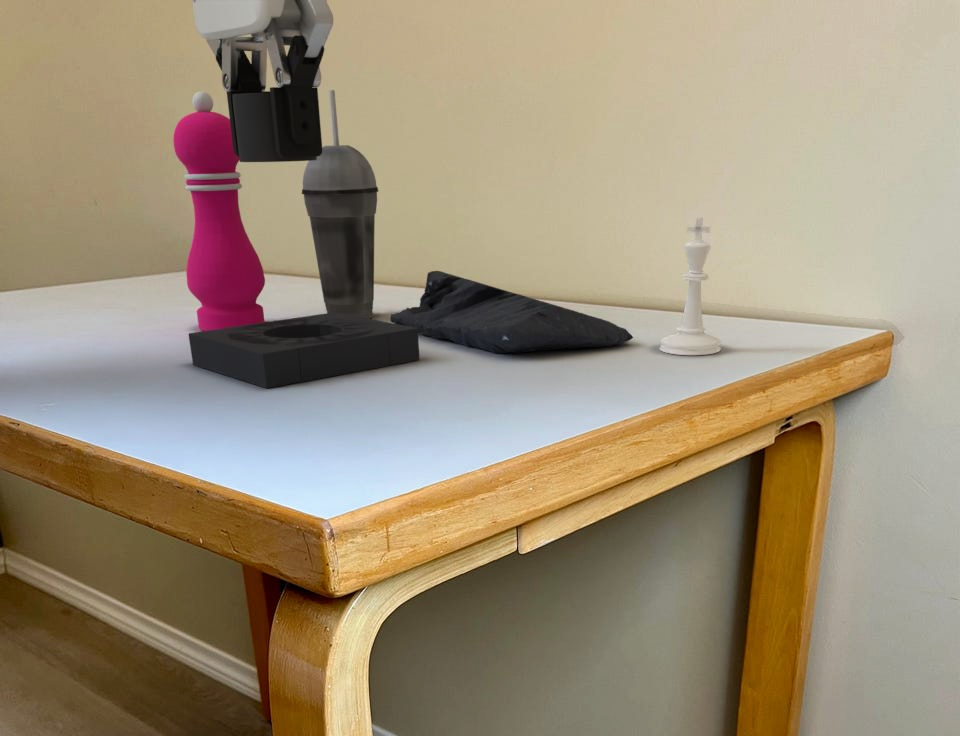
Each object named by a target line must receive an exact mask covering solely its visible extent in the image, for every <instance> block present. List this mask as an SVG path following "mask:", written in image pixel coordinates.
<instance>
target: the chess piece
mask: <svg viewBox="0 0 960 736" xmlns="http://www.w3.org/2000/svg"><path fill="white" fill-rule="evenodd" d="M703 222H704V217H703V216H700V217H699V216H697V217H695V225H688V226H687V227H686V229H687V230H686V233H694V240H691V241H689V242H686V243H685V244H684V252H685V254H686V259H687V265H688V269H689V270H688V272H687V273H683V274H682V276H681V280H684V281H688V287H687V293H686V298H685V305H684V310H683V316H682V320H681V324H680V326H678V327H677V328H676V330H677V331H678V332H676V333H672V334H669V335H667V336H665V337H663V338H662V339H661V340H660V346H659V350H660V351H661V352H663V353H667V354H671V355H679V356H705V355H706V356H707V355H712V354H716V353H719V352H720V351H721V350H722V348H721V346H720V345H721V340H720V339H719V338H718V337H716V336H714V335H712V334H709V333H706V332H705V331H706V330H707V328H706V327H704V326H703V311H702V281H707V280H709V279H710V277H709V274H708V273H705V272H704V270H703V268H704V266H705V263H706V260H707V257H708V255H709V253H710V250H711V247H712V246H711V243H709V242H707V241H704V240H702V233H703V234H704V233H706V234H707V233H710V232H711V225H703Z"/></svg>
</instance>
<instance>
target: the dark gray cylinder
mask: <svg viewBox="0 0 960 736" xmlns="http://www.w3.org/2000/svg"><path fill="white" fill-rule="evenodd" d="M232 100H233V108H234V117H235V126H236V134H237V143H238V152H239V162H240V163H283V162H284V163H285V162H286V163H287V162H308V161H311V160H317V156H313V157H279V156H278V155H277V153H276V145H275V135H274V125H273V115H272V105H271V96H270V93H243V94H233V95H232Z"/></svg>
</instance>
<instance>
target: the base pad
mask: <svg viewBox="0 0 960 736" xmlns="http://www.w3.org/2000/svg"><path fill="white" fill-rule="evenodd" d="M188 342H189V347H190V354H191V362H192V365H193V366H195V367H198V368H202V369H205V370H208V371H212V372H215V373H216V374H217V373H218V374H221V375H224V376H227V377H230V378H234V379H237V380H240V381H242V382H247V383H249V384H253V385H256V386H259V387H262V388H266V389H272V388H276V387H282V386H287V385H292V384H293V385H294V384H297V383H298V384H299V383H304V382H310V381H315V380H320V379H325V378H331V377H337V376H341V375H347V374H352V373H358V372H363V371H369V370H373V369H380V368H385V367H389V366H390V367H391V366H395V365H400V364H401V365H402V364H406V363H411V362H416V361H420V344H419V343H420V342H419V333H418V328H414V327H409V326H404V325H399V324H395V323H392V322H388V321H382V320H378V319H372V318H370V319H368V318H363V317H358V316H353V315H347V314H342V313H337V312H333V313H327V312H326V313H319V314H312V315H307V316H306V315H305V316H298V317H293V318H285V319H279V320H271V321H266V322H264V323H257V324H250V325H243V326H236V327H229V328H222V329H216V330H209V331H203V330H201V331H195V332H189V333H188Z"/></svg>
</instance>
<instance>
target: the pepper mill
mask: <svg viewBox="0 0 960 736" xmlns="http://www.w3.org/2000/svg"><path fill="white" fill-rule="evenodd" d="M191 102H192V106H193V108H194V110H195V112H192V113H190V114H187V115H185V116H183V117H182V118H181V119H180V120H179V121H178V122H177V124H176V126H175V128H174V131H173V139H172V141H173V149H174V154H175V156H176V158H177V159H178V160H179V161H180V162H181V163H182V165H183V166H184V167H185V169H186V171H187V173H185V174H184V175H183V179H184V180H185V184H186V185H185V190H186V191H188V192H190V195H191V200H192V205H193V212H194V215H193V216H194V227H193V228H194V230H193V237H192V242H191V246H190V249H189V253H188V257H187V261H186V262H187V263H186V270H185V274H186V286H187V288H188V291H189V292H190V293H191V294H192V295H193V296H194V297H195V298H196V300H198V301H199V303H200V304H201V306H200V307H199V308H198V309H196V317H197V325H198V328H199V331H209V330H216V329H222V328H229V327H236V326H243V325H250V324H257V323H264V322H265V313H264V307H263V306H262V305H261V304H259V303H257V300H258V298H259V296H260V294H261V293H262V291H263V289H264V287H265V285H266V278H265V273H264V268H263V265H262V263H261V260H260V257H259V255H258V253H257V251H256V250H255V248H254V246H253V243H252V242H251V240H250V237H249V236H248V233H247V232H246V228H245V226H244V223H243V221H242V216H241V211H240V205H239V189H240V190H241V189H242V188H243V185H242V183H241V179H240V178H241V175H242V174H241V173H240V172H238V171H236V170H237V166H238V163H239V162H240V160H239V157H237V156H236V155H235V154H234V150H233V142H232V133H231V125H230V117H228V116H226V115H223V114H222V113H218V112H215V111H212V110H213V108H214V99H213V98H212V96H211V95H210V94H209V93H208V92H206V91H202V90H201V91H196V93H194V95H193V96H192V101H191Z"/></svg>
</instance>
